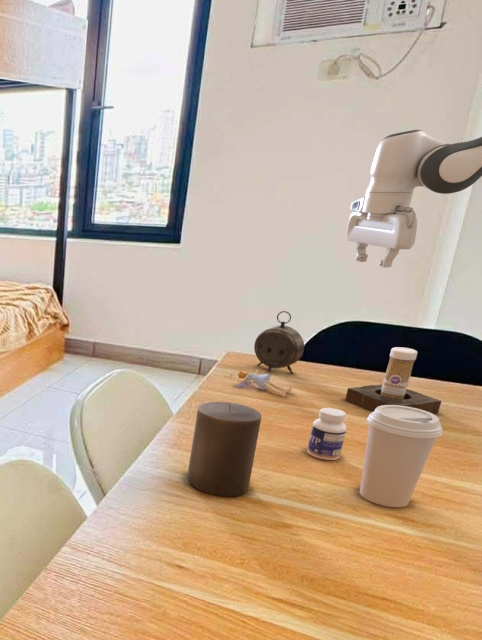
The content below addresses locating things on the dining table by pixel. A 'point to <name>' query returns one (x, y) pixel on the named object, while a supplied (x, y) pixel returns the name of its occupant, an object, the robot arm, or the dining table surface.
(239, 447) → the pillar candle
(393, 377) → the sprinkles bottle
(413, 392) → the holder base
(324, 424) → the pill bottle
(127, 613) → the dining table surface
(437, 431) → the coffee cup
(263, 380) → the fairy figurine
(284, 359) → the alarm clock
